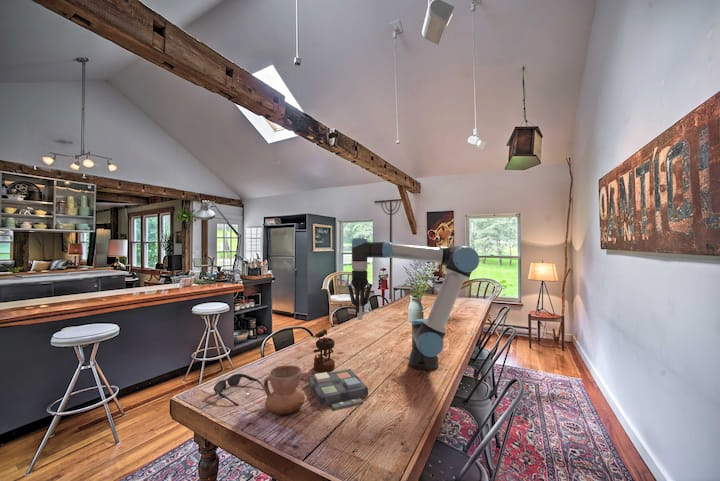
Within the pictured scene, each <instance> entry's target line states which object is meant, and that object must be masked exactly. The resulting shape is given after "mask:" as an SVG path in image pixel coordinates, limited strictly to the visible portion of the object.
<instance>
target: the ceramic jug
mask: <svg viewBox="0 0 720 481" xmlns="http://www.w3.org/2000/svg"><path fill="white" fill-rule="evenodd" d="M301 376H302V368H301V367H299V366H297V365H281V366H280V365H279V366H276V367H273V368H271V369H270V370H269V371H268V376H265V377H264V380H263V386H264V389H265V390H264V389H263V390H264V391H265V393H266V396H267V397H266V399H265V408H266V409H267V411H268V412H269V413H272V414H275V415H281V416H282V415H289V414H293V413H294V412H296V411H298V410H300V408H301V407H302V406H304V403H305V400H306V397H305V394H304V393H303V391H302V390H300V389H298V386H301V387H303V386H305V383H306V382H305V381H304V380H300V379H301ZM269 382H270V386H271V388H272V390H273V391H272V392H271V390H270V388H269Z"/></svg>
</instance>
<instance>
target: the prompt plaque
mask: <svg viewBox="0 0 720 481" xmlns="http://www.w3.org/2000/svg"><path fill="white" fill-rule="evenodd" d="M360 404H364V401H363V399H362V398H355V399H351V400H346V401H342V402H338V403H333V404H331V405H330V406H331V409H332V410H333V411H336V410H340V409H343V408H347V407H351V406H357V405H360Z"/></svg>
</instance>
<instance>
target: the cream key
mask: <svg viewBox="0 0 720 481" xmlns="http://www.w3.org/2000/svg"><path fill="white" fill-rule="evenodd" d="M328 373H329V372H324V373H319V372H318V373H314V375H315V380H316V382H317V383H322V382H327V381H330V376H329V375H328Z"/></svg>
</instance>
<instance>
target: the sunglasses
mask: <svg viewBox="0 0 720 481" xmlns="http://www.w3.org/2000/svg"><path fill="white" fill-rule="evenodd" d="M242 378H245V379H247V380H249V381H252V382H257V383H258V384H260V386H261V387H262V389H263V390H264V391H265V389H264V383H262V382H261V381H260V380H258V379H256V378H254V377H252V376H250V375H247V374H244V373H235V374H232V375H231V376H229V377H228V378H226V379H222V380H219V381H218V382H216V384H214V387H213V391H214V393H215V395H218V396H219V397H221V398H224V399H226V400H227V401H229V402H230V403H232V404H233V405H235V406H236V407H237V406H238V407H239V406H241V405H240V404H239V403H237V402H235V401H233V400H232V399H231V398H229V397H228V396H226V395H225V394H223V391H224V390H225V389H226V388H227V383H228V386H229V387H231V388H232V387H235V386H237V385H239V384H240V381H241V380H242Z"/></svg>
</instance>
